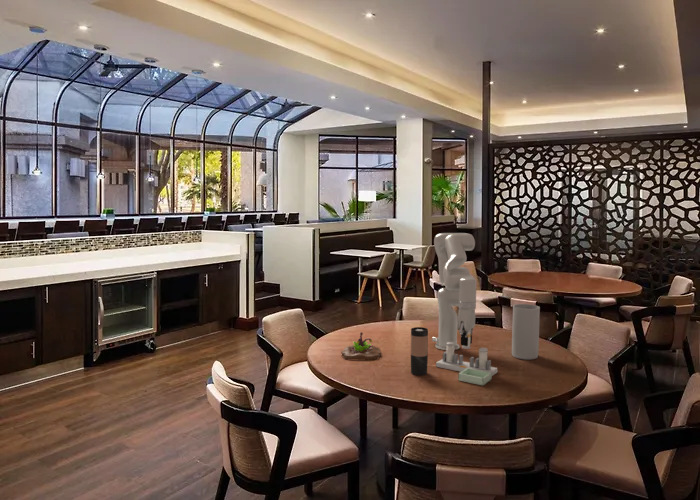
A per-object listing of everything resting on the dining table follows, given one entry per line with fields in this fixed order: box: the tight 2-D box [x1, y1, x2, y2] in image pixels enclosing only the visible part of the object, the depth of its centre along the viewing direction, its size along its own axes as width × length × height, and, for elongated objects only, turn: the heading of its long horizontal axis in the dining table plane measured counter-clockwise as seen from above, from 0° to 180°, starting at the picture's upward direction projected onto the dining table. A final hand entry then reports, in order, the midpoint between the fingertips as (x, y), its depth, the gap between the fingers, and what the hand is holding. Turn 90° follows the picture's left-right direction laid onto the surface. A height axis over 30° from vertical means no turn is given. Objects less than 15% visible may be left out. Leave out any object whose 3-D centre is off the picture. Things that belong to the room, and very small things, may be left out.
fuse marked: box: [461, 329, 471, 350], centre depth 241 cm, size 4×4×9 cm
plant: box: [340, 331, 382, 361], centre depth 266 cm, size 20×20×11 cm
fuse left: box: [445, 342, 455, 363], centre depth 246 cm, size 4×4×9 cm
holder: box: [435, 351, 498, 377], centre depth 242 cm, size 26×9×6 cm, turn 54°
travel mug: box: [410, 326, 429, 376], centre depth 236 cm, size 8×8×20 cm
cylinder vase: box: [511, 303, 541, 361], centre depth 261 cm, size 12×12×25 cm
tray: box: [457, 368, 493, 387], centre depth 228 cm, size 11×9×3 cm
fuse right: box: [478, 347, 489, 370], centre depth 237 cm, size 4×4×9 cm
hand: (466, 343), depth 242 cm, fingers closed on fuse marked, 3 cm apart
